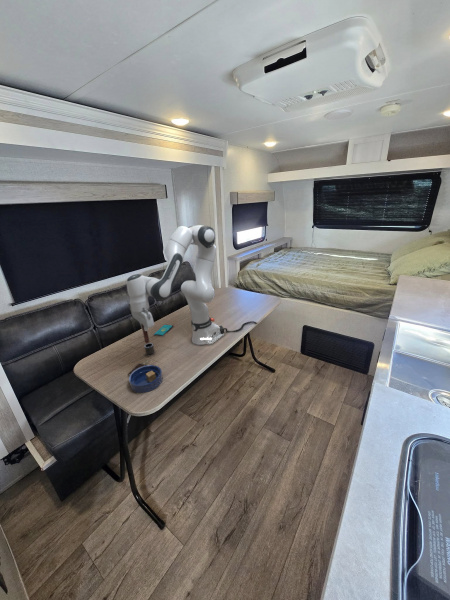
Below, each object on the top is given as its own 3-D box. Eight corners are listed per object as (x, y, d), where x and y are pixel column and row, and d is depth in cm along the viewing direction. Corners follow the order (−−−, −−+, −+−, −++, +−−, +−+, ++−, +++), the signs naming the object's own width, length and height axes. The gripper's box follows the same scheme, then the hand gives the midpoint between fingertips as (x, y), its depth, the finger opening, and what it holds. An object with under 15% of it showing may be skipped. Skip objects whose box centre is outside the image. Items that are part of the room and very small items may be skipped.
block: (153, 375, 125) (151, 370, 123) (156, 379, 122) (155, 373, 121) (146, 379, 122) (145, 373, 121) (149, 382, 120) (148, 376, 119)
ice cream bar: (144, 360, 139) (127, 377, 126) (144, 358, 138) (126, 374, 125) (152, 361, 137) (135, 379, 124) (151, 359, 137) (135, 376, 124)
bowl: (154, 368, 131) (152, 361, 129) (168, 382, 120) (167, 374, 118) (126, 383, 122) (123, 375, 120) (138, 399, 111) (136, 390, 109)
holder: (152, 350, 148) (150, 342, 146) (156, 353, 145) (154, 345, 143) (144, 353, 145) (142, 345, 143) (148, 357, 142) (146, 348, 140)
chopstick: (148, 341, 133) (143, 316, 128) (149, 342, 132) (144, 317, 126) (144, 342, 132) (140, 317, 127) (146, 343, 131) (141, 319, 125)
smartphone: (173, 325, 177) (162, 335, 163) (173, 326, 177) (162, 336, 164) (164, 324, 179) (153, 334, 165) (164, 325, 179) (153, 335, 166)
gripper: (154, 309, 119) (159, 333, 124) (138, 299, 133) (142, 321, 138) (142, 313, 115) (147, 338, 120) (126, 302, 129) (131, 325, 134)
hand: (144, 329), depth 129 cm, fingers closed on chopstick, 2 cm apart
